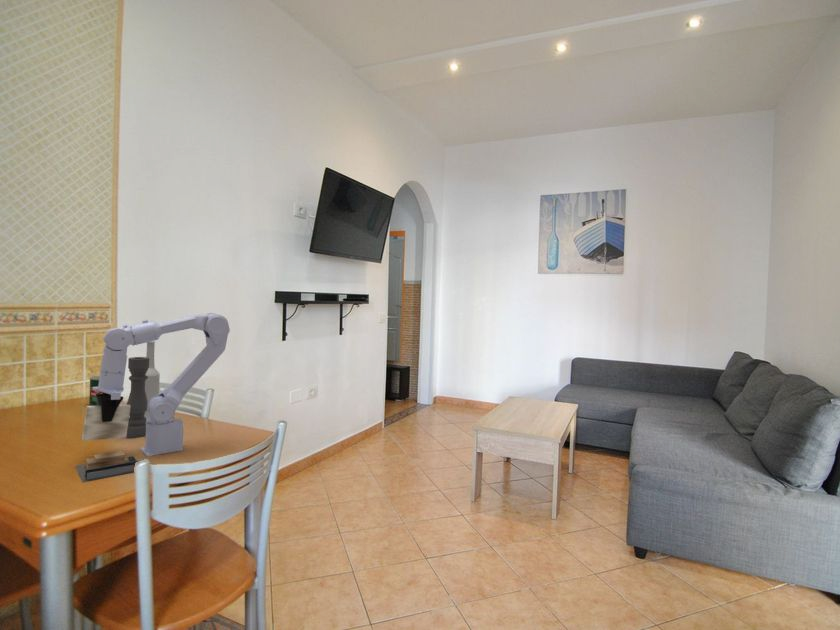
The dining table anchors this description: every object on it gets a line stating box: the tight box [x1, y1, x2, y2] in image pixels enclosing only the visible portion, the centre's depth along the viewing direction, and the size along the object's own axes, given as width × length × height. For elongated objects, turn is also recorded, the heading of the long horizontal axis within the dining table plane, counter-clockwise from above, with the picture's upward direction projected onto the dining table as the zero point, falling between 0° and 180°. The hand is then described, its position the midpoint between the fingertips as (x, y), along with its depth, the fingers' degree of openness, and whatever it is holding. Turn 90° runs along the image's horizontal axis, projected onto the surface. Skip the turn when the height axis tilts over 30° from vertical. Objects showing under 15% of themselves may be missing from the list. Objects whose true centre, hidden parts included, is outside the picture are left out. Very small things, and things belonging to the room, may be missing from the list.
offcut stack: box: [84, 450, 129, 469], centre depth 120 cm, size 9×5×2 cm, turn 134°
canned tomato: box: [88, 375, 103, 406], centre depth 178 cm, size 8×8×11 cm
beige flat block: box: [81, 404, 131, 442], centre depth 124 cm, size 10×2×9 cm, turn 136°
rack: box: [74, 455, 138, 484], centre depth 117 cm, size 13×13×2 cm
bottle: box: [144, 340, 161, 419], centre depth 165 cm, size 7×7×28 cm
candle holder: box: [125, 356, 149, 439], centre depth 144 cm, size 6×6×25 cm
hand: (106, 420), depth 124 cm, fingers closed on beige flat block, 1 cm apart
